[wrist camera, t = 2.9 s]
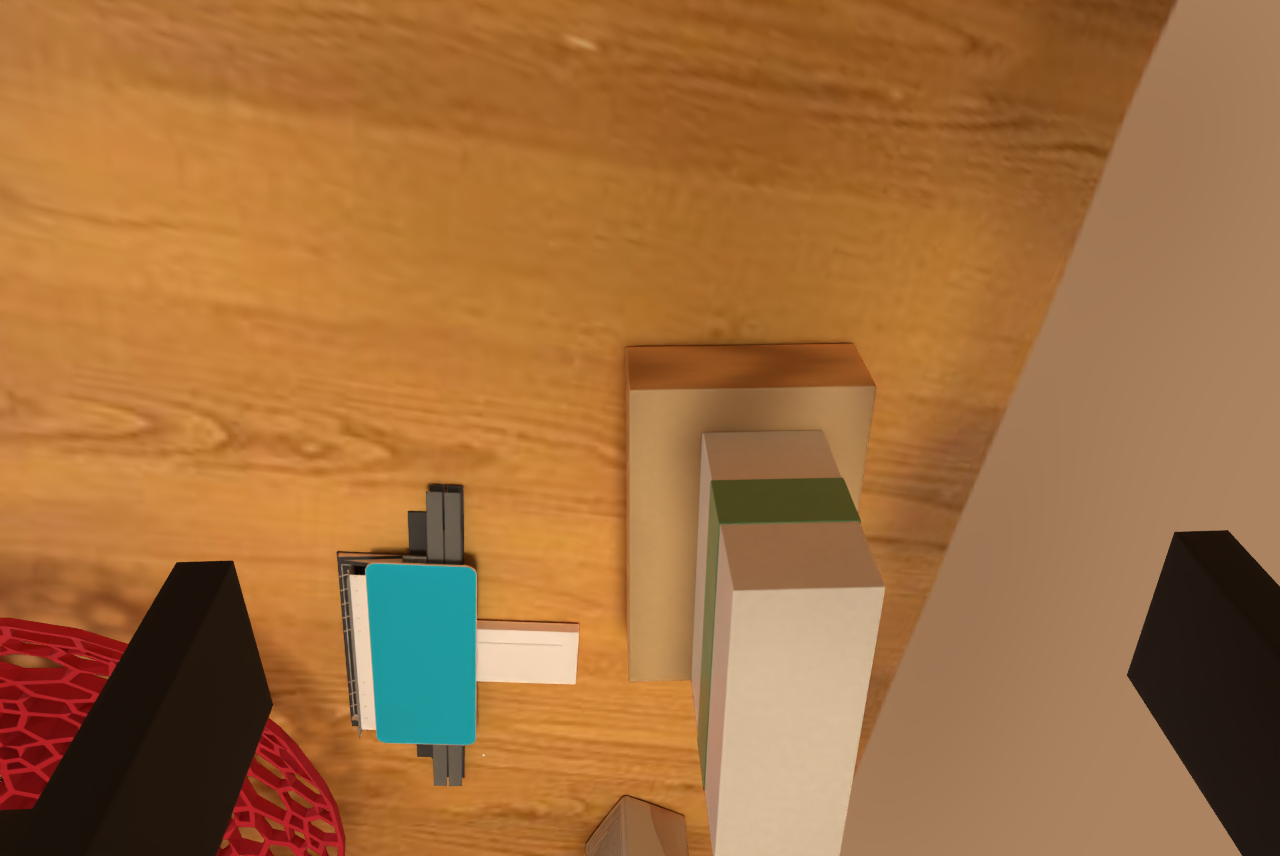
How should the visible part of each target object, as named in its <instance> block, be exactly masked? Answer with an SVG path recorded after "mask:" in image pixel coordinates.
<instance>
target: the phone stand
mask: <svg viewBox="0 0 1280 856" xmlns="http://www.w3.org/2000/svg"><path fill="white" fill-rule="evenodd" d="M447 487H448V493H445V485H429V488H430V492H426V509H427V512H414V511H408V528H409V554H410V555H403V554H379V553H355V552H337V560H338V572H339V584H340V595H341V607H342V619H343V630H344V642H345V653H346V665H347V677H348V688H349V700H350V711H351V722H352V726H359V727H358V728H359V738H360V736H361V732H362V729H366V730H376V737H377V739H378V740H379V741H381V742H383V743H399V744H417V757H432V759H433V765H434V786H447V777H449V786H462V778H464V757H465V745H470V744H473V743H474V742H475V741H476V681H484V682H516V683H549V684H575V682H576V669H577V656H578V642H579V624H564V623H537V622H509V621H481V620H477V572H476V570H475V569H474V568H473V567H471V566H468V565H464V514H463V486H449V485H447ZM358 566H359V568H360V569H359V570H360V575H359V571H358ZM358 728H355V729H358ZM355 729H352V730H355ZM483 756H485V754H483Z"/></svg>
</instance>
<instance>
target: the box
mask: <svg viewBox="0 0 1280 856" xmlns="http://www.w3.org/2000/svg"><path fill="white" fill-rule="evenodd" d="M586 856H689V853H688V845H687V836H686V826H685V818H684V816H682V815H680V814H677V813H674V812H671V811H669V810H666V809H663V808H660V807H657V806H655V805H652V804H649V803H646V802H643V801H640V800H637V799H635V798H631V797H629V796H624V797H623V798H622V799H621V800H620V801H619V802H618V803H617V804H616V806H615V807H614V808H613V809H612V810H611V812H610V813H609V814H608V815H607V817H606V818H605V820H604V821H603V822H602V824H601V825H600V826H599V827H598V829H597V830H596V831H595V832H594V834H593V835H592V837H591V838H590V840H589V841H588V842H587V844H586Z"/></svg>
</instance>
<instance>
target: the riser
mask: <svg viewBox="0 0 1280 856" xmlns="http://www.w3.org/2000/svg"><path fill="white" fill-rule="evenodd" d="M875 394H876V385H875V383H874V381H873V379H872V377H871V375H870V373H869V371H868V370H867V368H866V366H865V364H864V362H863V360H862V358H861V356H860V354H859V353H858V351H857V349H856V347H855V345H854V344H792V345H725V346H658V347H626V628H627V649H628V669H629V681H630V682H644V681H678V680H691V678H692V656H693V633H694V610H695V587H696V565H697V542H698V519H699V496H700V474H701V451H702V433H704V432H757V431H811V430H822V431H823V432H824V435H825V437H826V440H827V442H828V445H829V447H830V450H831V452H832V455H833V457H834V460H835V462H836V465H837V467H838V470H839V472H840V475H841V477H842V478H844V480H845V482H846V485H847V487H848V490H849V492H850V495H851V497H852V500H853V502H854V505H855V507H856V510H857V512H858V511H859V504H860V497H861V490H862V483H863V476H864V469H865V463H866V456H867V449H868V442H869V435H870V428H871V421H872V414H873V407H874V401H875Z"/></svg>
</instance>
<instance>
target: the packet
mask: <svg viewBox="0 0 1280 856" xmlns="http://www.w3.org/2000/svg"><path fill="white" fill-rule="evenodd" d="M860 523H861V520H860V517H859V515H858V512H857V510H856V507H855V505H854V502H853V500H852V497H851V495H850V492H849V490H848V487H847V485H846V482H845V480H844V478H842V477H841V475H840V472H839V470H838V467H837V465H836V462H835V460H834V457H833V455H832V452H831V450H830V447H829V445H828V442H827V440H826V437H825V435H824V432H823V431H822V430H811V431H757V432H704V433H702V451H701V474H700V496H699V519H698V542H697V565H696V587H695V610H694V633H693V656H692V678H691V682H692V690H693V698H694V706H695V714H696V722H697V731H698V738H697V741H698V749H699V757H700V766H701V774H702V782H703V790H704V791H705V796H706V804H707V812H708V820H709V828H710V836H711V844H712V852H713V856H840V851H841V845H842V838H843V833H844V827H845V821H846V815H847V809H848V803H849V798H850V792H851V786H852V780H853V774H854V768H855V763H856V757H857V751H858V745H859V739H860V733H861V727H862V722H863V716H864V710H865V704H866V698H867V692H868V686H869V681H870V675H871V669H872V663H873V657H874V651H875V645H876V640H877V634H878V628H879V622H880V616H881V610H882V604H883V599H884V593H885V585H884V582H883V580H882V577H881V575H880V572H879V570H878V567H877V565H876V562H875V560H874V557H873V555H872V552H871V550H870V547H869V545H868V542H867V540H866V537H865V535H864V532H863V530H862V527H861V525H860Z"/></svg>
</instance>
